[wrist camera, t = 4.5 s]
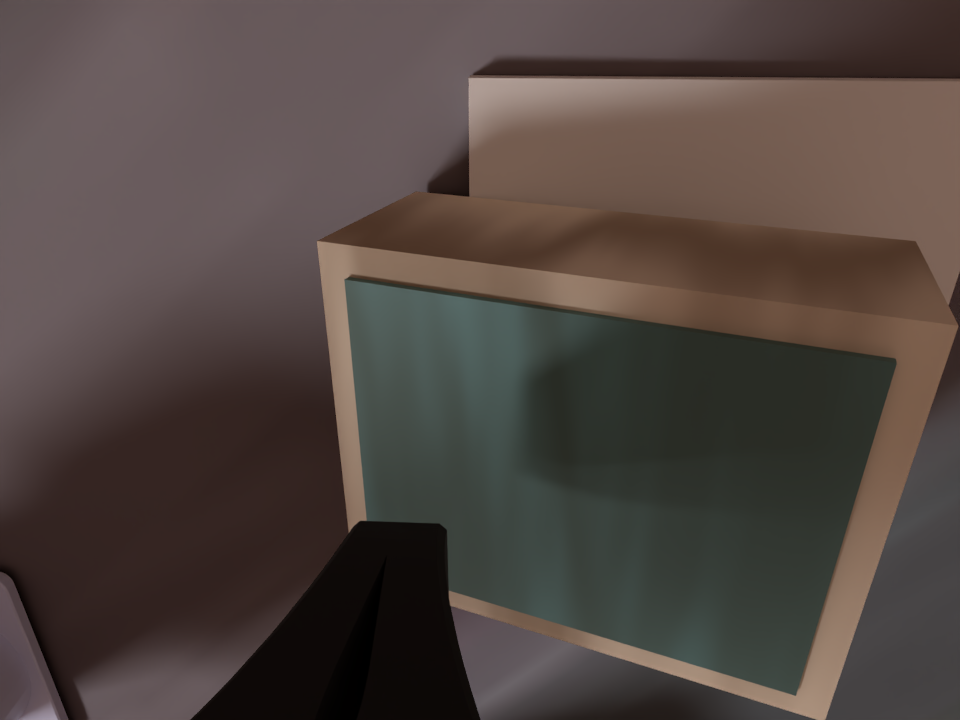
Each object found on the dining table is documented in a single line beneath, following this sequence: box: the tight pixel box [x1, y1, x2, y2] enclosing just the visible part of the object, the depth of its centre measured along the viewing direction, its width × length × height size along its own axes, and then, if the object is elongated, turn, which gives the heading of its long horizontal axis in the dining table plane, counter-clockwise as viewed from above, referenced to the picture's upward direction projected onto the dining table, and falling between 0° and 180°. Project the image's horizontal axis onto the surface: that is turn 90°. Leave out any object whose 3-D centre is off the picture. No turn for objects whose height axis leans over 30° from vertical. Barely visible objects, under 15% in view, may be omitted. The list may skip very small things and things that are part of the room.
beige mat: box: [469, 75, 960, 306], centre depth 17 cm, size 11×13×1 cm
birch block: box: [317, 192, 959, 720], centre depth 14 cm, size 4×8×10 cm
